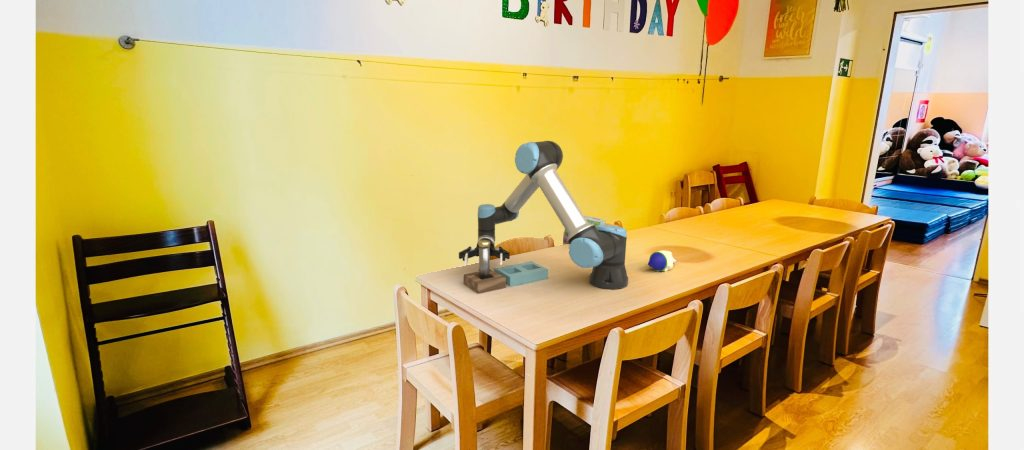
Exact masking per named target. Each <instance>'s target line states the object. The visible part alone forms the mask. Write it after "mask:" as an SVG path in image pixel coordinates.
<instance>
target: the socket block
mask: <svg viewBox="0 0 1024 450" xmlns="http://www.w3.org/2000/svg"><path fill="white" fill-rule="evenodd" d="M463 285H465V286H466V287H467V288H469V289H470V290H472V291H474V292H475V293H476V294H478V295H479V294H483V293H487V292H488V293H489V292H492V291H493V292H494V291H497V290H502V289H507V285H506V278H505V277H503V276H502V275H500V274H498V273H496V272H495V270H492V269H491V268H490V278H488V279H483V280H481V279H479V270H478V271H473V272H468V273H463Z"/></svg>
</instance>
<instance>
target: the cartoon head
mask: <svg viewBox="0 0 1024 450" xmlns="http://www.w3.org/2000/svg"><path fill="white" fill-rule="evenodd" d="M677 262H678V260H676V259H675V258H674V256H673V252H671V251H670V250H663V249H662V250H658V251H654V252H652V253H651V254H650V255H649V260H648V263H647V266H649V267H651V268H652V269H653V270H654V271H657V272H662V271H663V272H664V273H665V272H668V271H669V270H672V269H673V268H674V264H675V263H677Z"/></svg>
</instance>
